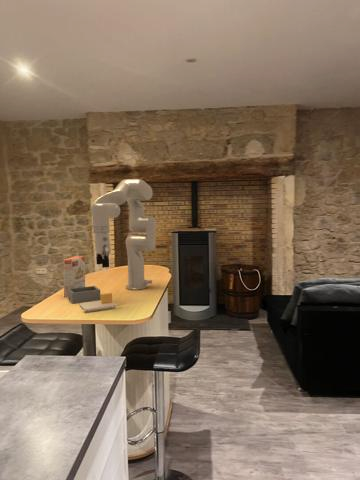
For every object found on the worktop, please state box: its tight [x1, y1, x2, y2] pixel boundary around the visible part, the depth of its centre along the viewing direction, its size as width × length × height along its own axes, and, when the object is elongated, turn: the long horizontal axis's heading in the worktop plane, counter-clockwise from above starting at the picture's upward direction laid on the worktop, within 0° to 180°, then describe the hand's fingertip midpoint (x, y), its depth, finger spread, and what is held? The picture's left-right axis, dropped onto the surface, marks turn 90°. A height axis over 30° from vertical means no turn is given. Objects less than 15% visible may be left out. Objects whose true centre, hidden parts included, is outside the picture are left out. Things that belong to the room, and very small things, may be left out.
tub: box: [67, 285, 102, 305], centre depth 181 cm, size 14×11×6 cm
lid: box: [78, 292, 117, 313], centre depth 168 cm, size 15×12×6 cm
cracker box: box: [62, 255, 86, 298], centre depth 192 cm, size 14×6×21 cm, turn 168°
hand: (102, 265), depth 169 cm, fingers open, 9 cm apart
